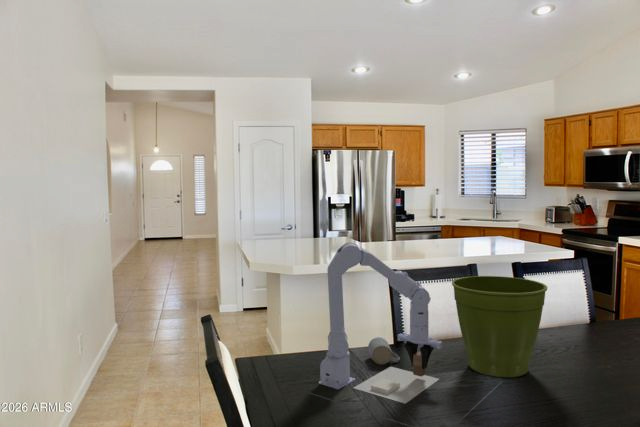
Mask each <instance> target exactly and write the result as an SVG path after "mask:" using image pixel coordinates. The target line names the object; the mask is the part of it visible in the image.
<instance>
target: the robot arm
mask: <svg viewBox="0 0 640 427" xmlns="http://www.w3.org/2000/svg"><path fill="white" fill-rule="evenodd" d="M357 265H360V266H361V267H364V266H365V267H370V268H371V269H373V270H374V271H376V272H378V273H379V274H381V275H382V276H383V277H385V278H386V279H387V280H388V282H389V286H390V287H391V288H393V289H394V290H395V291H397V292H398V293H399V294H401V295H402V296H404V297H405V298H408V300H409V301H410V303H409V306H410V308H409V333H399V334H397V341H398V342H405V344H404V346H403V347H404V348H405V351H406V352H407V354H408V356H409V360H410V363H411V367H413V354H414V353H416V352H418V349H419V350H420V351H419V352H421V357H422V369H425V368H426V369H427V368H428V364H429V360H430V357H431V354H432V353H433V351H434V349H437V350H441V349H442V348H443V341H442V340H438V339H435V338H431V337H429V304H430V302H431V299H432V298H431V297H430V296H431V295H430V293H429V291H428V290H427V289H426V288H425V287H424V286H423V285H421V283H420V282H419V281H415V280H414V279H412V278H411V277H410V276H409V274H408V272H406V271H401V270H397V271H396V270H395V271H394V270H393V269H392V268H391V267H389V265H387V264H386V263H384V262H383V261H382V260H380V259H379V258H378V257H377V256H376V255H374V254H373V253H372V252H371V251H369V250H367V249H365V248H363V247H361V246H360V247H359V246H358V245H357V243H355V242H352V241H351V242H350V241H349V242H346V243H344V244H343V245H340V247H339V248H338V249H337V250H336V253H335V255H334V256H333V258H332V259H331V261H330V262H329V264H328V266H327V286H328V287H327V288H328V289H327V290H328V308H329V309H328V310H329V324H330V325H329V330H330V331H329V333H328V336H327V341H328V344H327V346H328V347H327V351H326V356H325V358H324V359H323V360H321V362H320V366H319V369H320V370H319V372H320V376H319V377H320V378H319V379H320V380H319V381H318V384H320V385H323V386H326V387H328V388H332V389H336V390H340V389H341V388H343V387H345V386H347V385H349V384H351V383H353V382H354V381H356V378H355V377H351V367H350V365H351V364H350V362H351V361H350V360H351V359H350V358H351V357H350V355H351V353H350V351H349V349H350V347H349V342H348V336H347V334H346V332H345V331H346V330H345V313H344V295H343V294H344V293H343V292H344V291H343V290H344V289H343V275H344V274H345V273H346V272H347V271H348V270H350V269H351V268H353V267H355V266H357ZM419 345H421V347H420V348H419Z"/></svg>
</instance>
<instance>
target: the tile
mask: <svg viewBox="0 0 640 427" xmlns="http://www.w3.org/2000/svg"><path fill="white" fill-rule="evenodd" d="M398 387H400V383H399V382H396V381H392V380H388V379H385V378H382V379H381V380H379V381H377V382H376V383H374V384H372V385H371V389H372V390H375V391H379V392H382V393H385V394H389V393H391V392H392V391H394V390H395V389H397V388H398Z"/></svg>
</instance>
